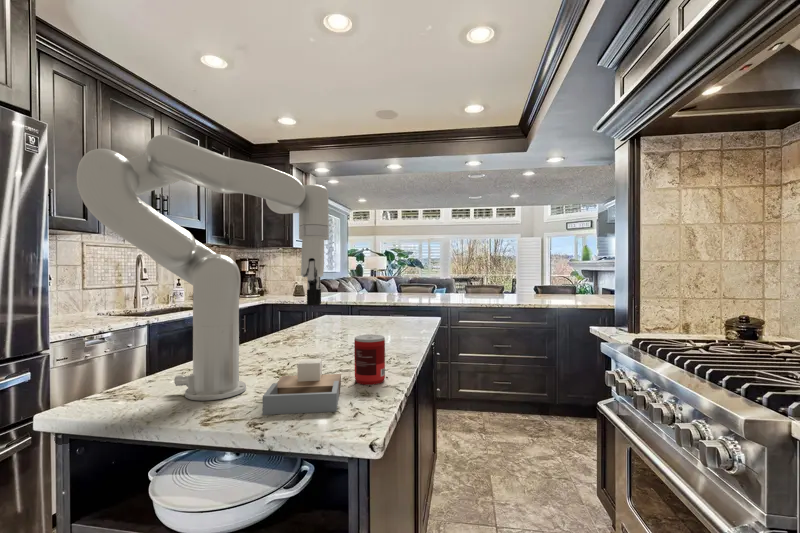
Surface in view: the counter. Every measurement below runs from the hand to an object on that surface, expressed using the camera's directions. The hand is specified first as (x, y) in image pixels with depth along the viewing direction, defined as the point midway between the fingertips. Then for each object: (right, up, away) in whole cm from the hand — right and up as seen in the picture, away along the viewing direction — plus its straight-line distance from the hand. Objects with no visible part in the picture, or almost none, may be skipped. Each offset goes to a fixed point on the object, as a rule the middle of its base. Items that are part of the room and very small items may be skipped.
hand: (314, 304), depth 100 cm
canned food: (+15, -19, -3) cm, 24 cm away
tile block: (+1, -16, -9) cm, 19 cm away
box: (+2, -19, -20) cm, 28 cm away
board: (+1, -19, -11) cm, 22 cm away
